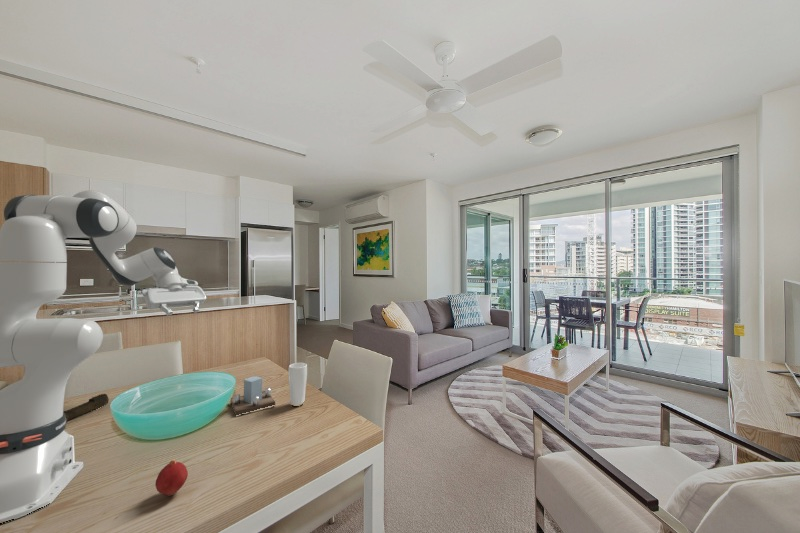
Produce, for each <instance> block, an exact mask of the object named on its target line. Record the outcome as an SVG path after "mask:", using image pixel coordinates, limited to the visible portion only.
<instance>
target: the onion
mask: <svg viewBox="0 0 800 533" xmlns="http://www.w3.org/2000/svg"><path fill="white" fill-rule="evenodd" d="M188 473H189V472H188V469H187V466H186V465H185V464H183V463H181V462H180V461H176V459H175V458H174V459H171V461H170V462H168V463H167V464H166V465H165V466H164V467H163V468H162V469H161V470H160V472H158V475H157V478H156V480H155V485H154V486H155V489H156V491H157V492H158V493H159V494H161V495H165V496H170V495H172V496H174V495H175V494H176V493H177V492H178V491H179V490H180V489H181V488H182V487H183V486H184V484H185V482H186V481H187V480H188V475H189V474H188ZM173 494H174V495H173ZM170 497H171V496H170Z"/></svg>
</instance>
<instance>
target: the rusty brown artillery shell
mask: <svg viewBox="0 0 800 533" xmlns="http://www.w3.org/2000/svg"><path fill="white" fill-rule="evenodd" d="M109 399H110V398H109V397H108V394H106V393H101V394H98V395H95V396H92V397H90V398H89V399H88V401H86V402H84V403H82V404H80V405H77V406H74V407H72V408H70V409H67V410H63V413H65V415H66V422H68V421H70V420H72V419H75V418H77V417H80V416H83V415H84V414H86V413H88V412H92V411H91V410H95V411H97V410H96V409H98V408H100V407H101V408H103V407H105V406H106V405H108V404H109ZM107 403H108V404H107ZM104 405H105V406H104ZM102 406H103V407H102ZM101 408H100V409H101ZM98 410H99V409H98Z"/></svg>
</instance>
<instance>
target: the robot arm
mask: <svg viewBox="0 0 800 533" xmlns="http://www.w3.org/2000/svg"><path fill="white" fill-rule="evenodd" d="M3 219H4V222H3V223H2V225H1V227H0V368H10V367H11V368H13V367H23V366H24V367H25V370H24V374H23V377H22V378H21V379H20V380H17V381H15V382H13V383H10V384H9V385H6V386H5V387H3V388H2V389H0V522H1V521H8V520H11V519H14V520H17V519H19V518H22V517H24V516H28V515H30V514H32V513H33V512H32V511H34V510H36V509H38V508H41V507H43V508H45V507H47V506H48V505H47V504H49V503H50V504H51V503H52V502H54V500H55V499H56V498H58V496H59V494H61V492H62V491H63V490H64V489H65V488H66V487H67V486H68V485H69V483H71V482H72V480H73V479H74V478H75V477H76V475H78V473H80V472H81V470H82V469H83V468H84V462H83V461H75V439H74V438H75V436H74V435H72V434H70V433H68V432H67V431H66V430H65V429H66V423H67V421H66V415H65V413H63V412H64V404H65V402H64V401H65V394H66V387H67V384H68V381H69V379H70V376H71V375H72V373H73V372H74V371H75V370H76V368H77V367H78V366H79V365H80V364H81V363H83V362H84V361H85V360H87V359H88V358H90V357H92V356H93V355H94V354H96V352H98V350H99V348H100V347H101V346H102V343H103V340H104V332H103V329H102V327H101V326H100V325H99V324H98V322H96V321H95V320H92V319H91V320H89V319H83V318H74V317H60V318H59V317H58V318H57V317H56V318H37V314H38V311H39V309H40V308H41V307H42V306H43V305H46V304H49V303H51V302H54V301H55V300H58V299H59V298H60V297H61V296H63V294H65V292H66V291H67V274H68V270H67V269H68V268H67V267H68V263H67V262H68V260H67V259H68V253H67V246H66V245H67V244H66V239H68V238H70V239H71V238H72V239H73V238H77V239H78V238H89V239H88V242H89V245H90V247H91V249H92V250H93V252H94V253H95V255H96V256H97V258H98V259H99V260H100V261H101V263H102V264H103V265H104V267H106V269H108V271H109V272H110V273H111V276H112V278H113V279H114V280H115V281H116V282H117V283H118V284H120V285H123V286H130V287H132V286H134V285H136V284H138V283H140V282H142V281H143V280H146V279H148V278H151V277H152V279H153V281H155V286H156V287H155V286H154V287H145V288H143V289H141V294H142V296H143V298H144V301H145V302H144V303H145V305H146V308H148V309H149V310H153V309H159V310H160V311H162V312H163V313H165V314H166V317H167V316H172V315H173V313H174V311H173V309H172V308H175V307H176V308H177V307H188V306H192V307H193V309H192V312H193V314H196V313H199V312H200V308H199V306H200V305H204V304H205V302H206V300H207V298H208V297H207V295H206V293H205V291H204V289H203V288H202V287H201V286H199V283H198V281H196V280H192V279H188V278H184V277H182V276H181V275H180V274H179V270H178V268H177V266H176V261H175V260H174V258H173V256H172V255H171V254H170V253H169V252H168V250H166V249H164V248H160V247H157V246H156V247H151V248H149V249H146V250H143V251H141V252H139V253H136V254H135V255H134V254H133V255H131V256H129V257H126V258H123V259H119V257H118V256H117V255H116V253H117V251H118V250H120V249H121V248H122V247H124V246H126V245H127V244H128V243H130V242H131V241H133V239H134V237H136V234H137V230H138V227H137V223H136V221H135V219H134V218H133V217H132V215H130V214H129V212H128V211H126V209H125V208H124V207H122V206H121V205H120V204H119V203H118V202H117V201H116V200H114V199H113V198H111V197H109V196H108V195H107V194H105V193H104V192H101V191H97V190H92V189H91V190H82V191H79V192H77V193H76V194H73V196H67V195H61V194H59V195H58V194H51V195H50V194H46V195H45V194H42V195H38V194H25V195H18V196H14V197H13V198H11V199H10V200H9V201H8V202H7V203H6V205H5V207H4V210H3ZM50 504H49V505H50ZM46 505H47V506H46ZM44 506H45V507H44ZM41 509H42V508H41ZM31 512H32V513H31ZM29 513H30V514H29ZM27 514H28V515H27ZM11 521H12V520H11ZM8 522H9V521H8Z"/></svg>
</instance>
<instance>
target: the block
mask: <svg viewBox="0 0 800 533" xmlns="http://www.w3.org/2000/svg"><path fill="white" fill-rule="evenodd" d="M262 391H263V378H262V377H260V376H256V375H254V376H251V377H248V378H245V379H243V395H244V401H245V402H248V403H253V397H254V396H259V400H261V399H262Z"/></svg>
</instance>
